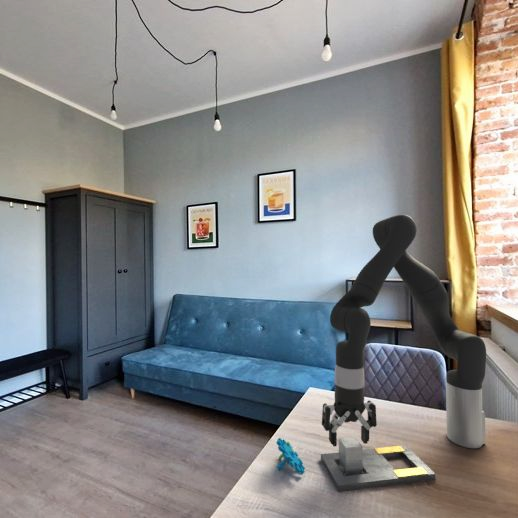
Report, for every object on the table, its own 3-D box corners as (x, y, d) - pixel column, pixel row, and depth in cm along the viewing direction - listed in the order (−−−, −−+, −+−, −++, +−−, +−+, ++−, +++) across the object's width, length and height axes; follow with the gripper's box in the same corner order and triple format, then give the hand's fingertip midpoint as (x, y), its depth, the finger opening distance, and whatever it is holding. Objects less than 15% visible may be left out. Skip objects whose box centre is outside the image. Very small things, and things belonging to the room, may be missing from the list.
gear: (308, 477, 76) (280, 446, 78) (292, 495, 76) (263, 464, 77) (304, 455, 87) (279, 428, 89) (290, 471, 87) (265, 444, 88)
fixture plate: (405, 450, 89) (405, 444, 89) (435, 479, 78) (435, 472, 78) (320, 459, 86) (320, 453, 86) (338, 491, 74) (338, 484, 74)
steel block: (354, 465, 83) (354, 436, 83) (362, 477, 79) (362, 446, 79) (338, 467, 82) (338, 437, 82) (346, 479, 78) (345, 447, 78)
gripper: (367, 375, 86) (367, 433, 85) (318, 377, 83) (318, 437, 83) (382, 386, 78) (381, 449, 78) (328, 389, 76) (328, 454, 76)
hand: (349, 443), depth 81 cm, fingers open, 8 cm apart
